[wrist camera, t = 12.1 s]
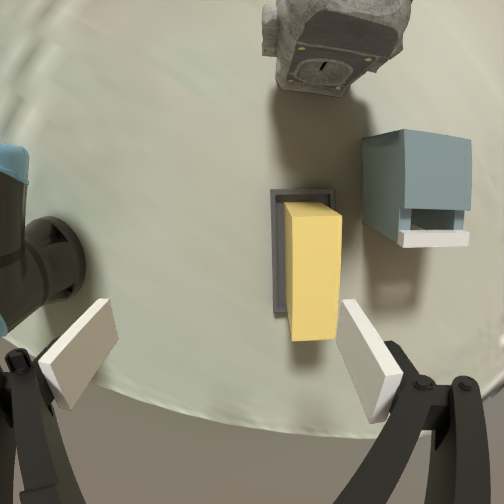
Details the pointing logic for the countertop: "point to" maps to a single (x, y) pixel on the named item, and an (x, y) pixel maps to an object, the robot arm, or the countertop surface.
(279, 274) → the tray
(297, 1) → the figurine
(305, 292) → the yellow tall slab
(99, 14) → the countertop surface
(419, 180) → the dispenser
